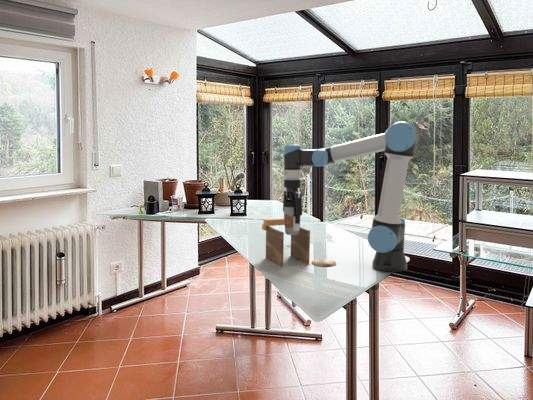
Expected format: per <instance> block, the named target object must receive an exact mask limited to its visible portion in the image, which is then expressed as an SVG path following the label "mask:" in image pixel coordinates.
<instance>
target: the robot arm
mask: <svg viewBox="0 0 533 400" xmlns="http://www.w3.org/2000/svg"><path fill="white" fill-rule="evenodd" d="M420 141H421V132H420V128H419V127H418V126H417V125H415V124H414V123H412V122H408V121H404V120H403V121H397V122H394V123H393V124H391V125H389V126H388V128H387V129H386V130H385V132H384V133H379V134H375V135H371V136H367V137H363V138H360V139H355V140H352V141H351V140H350V141H347V142H343V143H339V144H336V145H332V146H327V147H322V148H315V149H314V148H312V149H309V148H308V149H305V148H302V145H300V144H285V145H284V148H283V149H284V150H283V173H282V174H283V176H284V177H283V178H284V179H283V187H284V188H285V189H286V190H283V203H284V201H286V200H287V202H293V204H294V215H293V231H299V216H300V215H301V216H302V215H303V206H302V205H303V204H302V203H303V202H302V192H299V189H300V188H301V187H302V186H301V185H302V184H301V182H302V180H301V178H302V177H301V175H302V170H301V169H302V167H317V168H319V167H325V166H327V165H329V164H333V163H336V162H341V161H345V160H350V159H355V158H358V157H363V156H367V155H372V154H377V153H379V152H381V153H382V152H384V155H385V156H386V158H387V159H386V164H385V170H384V176H383V181H382V186H381V193H380V199H379V203H378V204H379V206H378V209H377V210H378V211H377V214H376V215H375V216H373V218H372V223H371V224H372V225H371V228H370V230H369V231H368V235H367V241H368V244H369V247H371V248H372V250H374V251H375V254H374V256H373V257H374V258H373V260H372V262H371V263H372V268H373V269H375V270H377V271H381V270H382V272H387V271H390V273H399V272H405V271H406V270H408V262H407V259H406V255H405V251H404V250H405V234H406V233H405V232H406V231H405V230H406V220H405V218H403V217H400V212H401V206H402V201H403V197H404V196H403V195H404V189H405V184H406V179H407V173H408V167H409V162H410V160H412V159H413V158H414V156H415V155H414V154H415V151H416V146H417V145H418V144H419V142H420ZM294 202H295V203H294ZM295 204H296V205H295ZM282 212H283V213H284V206H283V205H282ZM391 271H392V272H391Z"/></svg>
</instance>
